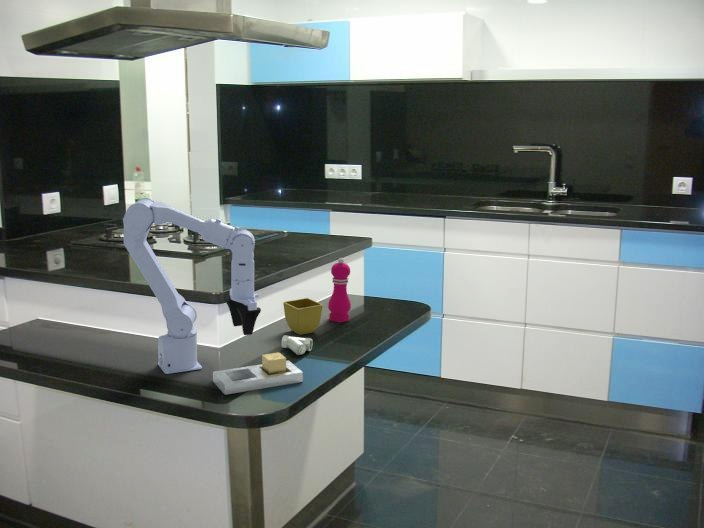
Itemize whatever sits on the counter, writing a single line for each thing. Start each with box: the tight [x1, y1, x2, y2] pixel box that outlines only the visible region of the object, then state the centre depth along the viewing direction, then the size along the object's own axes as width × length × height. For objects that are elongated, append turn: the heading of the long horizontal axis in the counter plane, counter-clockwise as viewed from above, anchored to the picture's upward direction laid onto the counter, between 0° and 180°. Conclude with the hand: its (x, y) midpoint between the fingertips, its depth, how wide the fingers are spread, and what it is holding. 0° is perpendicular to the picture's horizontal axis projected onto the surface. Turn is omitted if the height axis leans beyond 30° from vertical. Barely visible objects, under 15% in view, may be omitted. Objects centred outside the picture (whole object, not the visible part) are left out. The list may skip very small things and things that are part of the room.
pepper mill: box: [327, 257, 352, 323], centre depth 229 cm, size 7×7×20 cm
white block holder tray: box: [212, 359, 304, 395], centre depth 178 cm, size 20×9×2 cm, turn 118°
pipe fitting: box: [281, 335, 314, 356], centre depth 201 cm, size 8×4×7 cm
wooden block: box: [261, 351, 287, 375], centre depth 180 cm, size 4×4×6 cm
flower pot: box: [282, 297, 324, 336], centre depth 216 cm, size 9×9×9 cm
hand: (242, 330), depth 186 cm, fingers open, 7 cm apart
